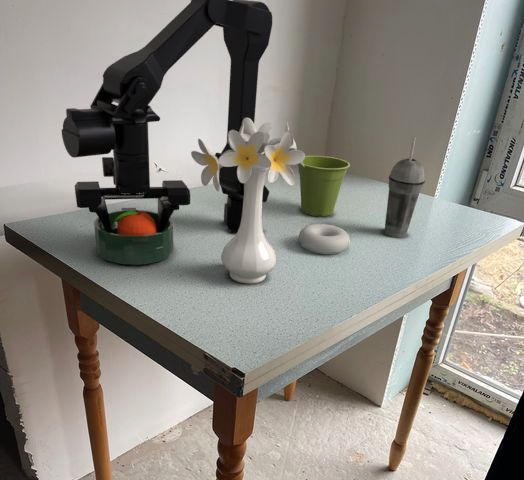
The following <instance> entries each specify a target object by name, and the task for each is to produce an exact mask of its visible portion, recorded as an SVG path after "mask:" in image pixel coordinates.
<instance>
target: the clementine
mask: <svg viewBox="0 0 524 480" xmlns="http://www.w3.org/2000/svg"><path fill="white" fill-rule="evenodd" d="M140 210H141V209H136V210H132V211H128V212H125V213H123V214H121V215H119V216H118V217H117V218H116V219H115V221H114V222H113V224H114V223H115V222H116V220H117V219H119V218H120V220H119V222H118V225H117V233H118V234H119V235H127V236H142V235H150V234H155V233H157V227H156V224H155V221H154V220H153V218H152V217H151V216H150V215H149V214H147V213H145V212H144V211H140ZM112 226H113V225H112Z"/></svg>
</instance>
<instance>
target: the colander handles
mask: <svg viewBox="0 0 524 480" xmlns="http://www.w3.org/2000/svg"><path fill="white" fill-rule="evenodd" d="M121 210H137V208H136V207H121ZM131 242H132V245H149V241H148V238H147V237H139V238H131Z"/></svg>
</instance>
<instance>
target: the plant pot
mask: <svg viewBox="0 0 524 480" xmlns="http://www.w3.org/2000/svg"><path fill="white" fill-rule="evenodd" d="M303 164H304V167H303V166H302V165H301V164H300V163H299V164H297V166H298V167H297V168H298V174H299V187H300V208H301V211H302V213H304V214H306V215H310V216H312V217H318V216H322V217H329V216H331V215H333V213H334V211H335V208H336V203H337V201H338V197H339V193H340V191H341V187H342V184H343V181H344V178H346V173H347V171H348V169H349V168H350V167H351V163H350V162H349V161H347V160H345V159H341V158H338V157H332V156H326V155H305V158H304V160H303Z"/></svg>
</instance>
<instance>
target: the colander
mask: <svg viewBox="0 0 524 480" xmlns="http://www.w3.org/2000/svg"><path fill="white" fill-rule="evenodd" d="M139 210H140V211H144V212H145V213H147V214H149V215H150V216H151V217H152V218H153V220H154V221H155V224H156V226H157V214H158V212H155V211H152V210H151V211H150V210H143V209H139ZM128 211H132V210H122V209H121V210H114V211H110V212H108V214H109V219H110V224H111V229H112V233H110V232H106V230H105V228H104V226H103V224H102V222H101V220H100V219H99V217H98V216H97V217H96V218H95V220H94V222H93V226H94V239H95V250H96V254H97V255H98V256H100V258H102V259H104V260H106V261H108V262H112V263H114V264H115V263H116V264H122V265H133V266H135V265H136V266H137V265H138V266H139V265H148V264H154V263H158V262H162V261H164V260H166V259H167V258H169V257H171V256H172V254H173V252H174V222H173V220H172V219H171V217H170V218H169V220H168V222H167V224H166V226H165V229H164V231H162V232H159V233H155V234H150V235H142V236H127V235H119V234H118V233H117V225H118V222H119V220H120V218H119V219H117V220H116V222H115V223H114V224H113V222H114V221H115V219H116V218H117V217H118V216H119V215H121V214H123V213H125V212H128ZM112 225H113V226H112ZM139 237H147V238H148V241H149V245H132V242H131V238H139Z"/></svg>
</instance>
